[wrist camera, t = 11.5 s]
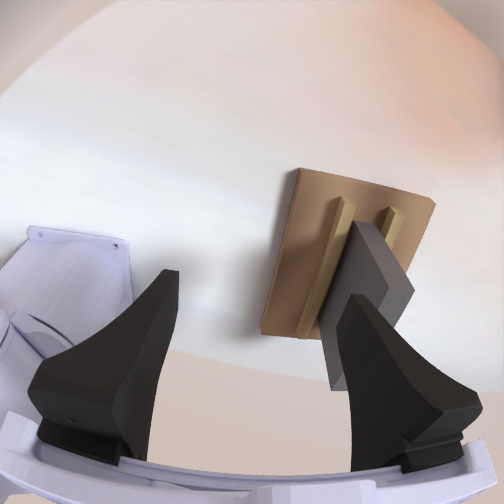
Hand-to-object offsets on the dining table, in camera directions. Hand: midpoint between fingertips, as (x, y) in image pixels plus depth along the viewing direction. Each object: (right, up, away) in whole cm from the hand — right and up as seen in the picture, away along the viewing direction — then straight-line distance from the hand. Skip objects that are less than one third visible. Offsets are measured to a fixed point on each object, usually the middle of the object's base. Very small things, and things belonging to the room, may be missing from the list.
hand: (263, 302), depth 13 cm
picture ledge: (+6, +1, +11) cm, 12 cm away
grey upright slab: (+6, 0, +10) cm, 12 cm away
